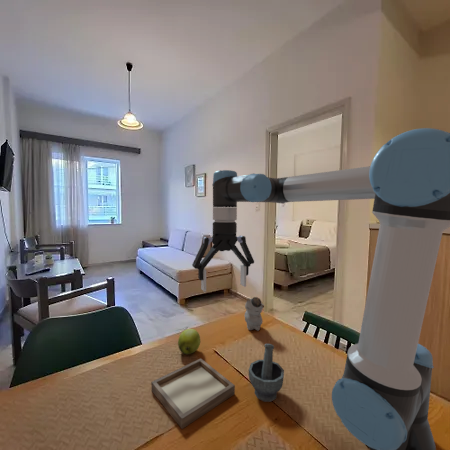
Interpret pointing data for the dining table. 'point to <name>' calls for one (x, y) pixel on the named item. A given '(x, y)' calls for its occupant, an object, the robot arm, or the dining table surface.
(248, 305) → the figurine
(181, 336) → the apple
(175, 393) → the grey sand tray
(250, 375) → the mortar and pestle
